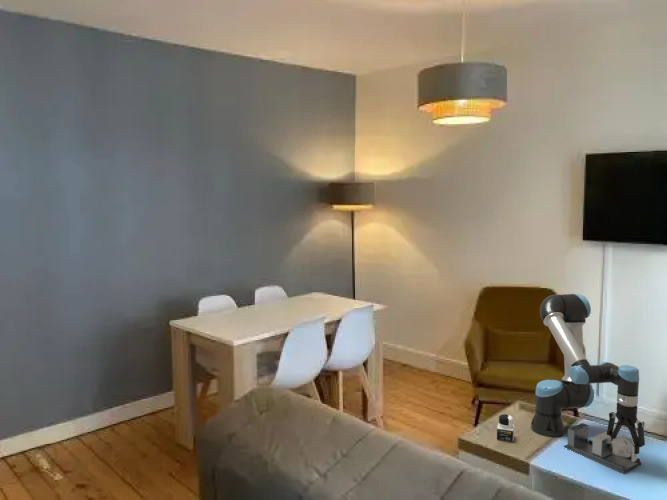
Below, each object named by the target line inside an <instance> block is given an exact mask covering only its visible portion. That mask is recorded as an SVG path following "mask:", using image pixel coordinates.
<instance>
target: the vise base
mask: <svg viewBox="0 0 667 500" xmlns="http://www.w3.org/2000/svg"><path fill="white" fill-rule="evenodd" d="M589 427H590V426H589V424H587V423H584V422H582V423H579V424H576V425H573V426H572V427H569V428H567V444H565V445H563V446H562V447H565V448H567V449H566V450H568V451H570V450H571V451H570V452H572V451H573V452H572V453H574V452H575V453H574V454H577V455H579V454H580V455H579V456H581V455H582V457H583V456H584V457H583V458H586V459H588V460H590V461H592V462H595V463H597V464H599V465H602V466H604V467H607V468H608V469H610V470H613V471H616V472H617V473H619V474H622V475H625V474H627V473H630V472H631V471H632V470H634V469H636V468H638V467H641V466H642V465H643V463H642V461H641V458H639V457H637V460H636V461H634V462H632V455H631V456H630V457H627V458H623V457H620V456H617V455H615V454H610V455H608V456H606V457H604V458H600V457H598V456H596V455H593V454H592V446H593V439H589V431H590V430H589ZM565 448H564V449H565Z"/></svg>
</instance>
